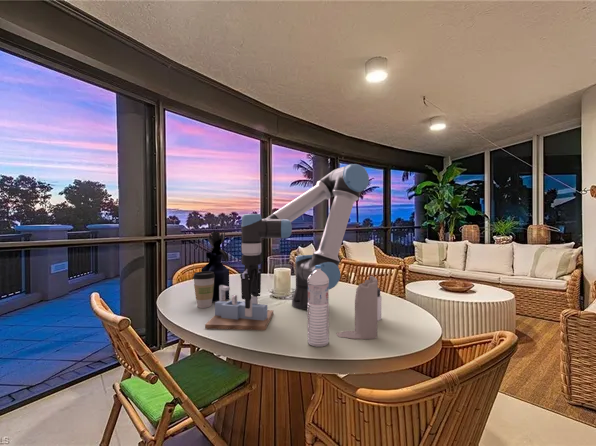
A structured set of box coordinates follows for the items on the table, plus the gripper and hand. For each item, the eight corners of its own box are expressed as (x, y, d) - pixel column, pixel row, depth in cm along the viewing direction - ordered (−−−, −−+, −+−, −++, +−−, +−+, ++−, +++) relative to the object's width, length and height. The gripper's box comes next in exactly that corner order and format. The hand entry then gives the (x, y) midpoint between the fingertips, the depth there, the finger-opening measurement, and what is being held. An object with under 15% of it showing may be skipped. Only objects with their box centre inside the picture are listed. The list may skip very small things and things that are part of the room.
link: (212, 316, 125) (212, 304, 125) (221, 311, 132) (221, 299, 132) (261, 322, 119) (261, 308, 119) (269, 316, 125) (269, 303, 125)
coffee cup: (209, 309, 140) (209, 275, 139) (188, 308, 142) (188, 274, 141) (219, 303, 149) (219, 271, 149) (199, 302, 151) (199, 270, 151)
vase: (234, 300, 155) (233, 227, 155) (210, 303, 149) (210, 228, 148) (223, 294, 167) (222, 227, 166) (201, 297, 161) (200, 227, 160)
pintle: (237, 318, 127) (237, 295, 127) (236, 320, 125) (236, 296, 125) (232, 318, 127) (232, 295, 127) (231, 320, 125) (231, 296, 125)
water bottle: (322, 349, 98) (322, 267, 97) (303, 344, 102) (303, 266, 101) (332, 341, 104) (332, 264, 103) (314, 337, 107) (313, 263, 107)
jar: (356, 320, 125) (357, 290, 124) (359, 314, 132) (359, 285, 132) (380, 323, 122) (380, 291, 122) (381, 316, 130) (381, 287, 129)
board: (273, 313, 134) (273, 310, 134) (265, 330, 115) (265, 325, 115) (221, 312, 135) (221, 309, 135) (205, 328, 116) (205, 324, 116)
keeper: (229, 315, 131) (229, 287, 131) (225, 316, 130) (225, 287, 129) (223, 312, 135) (223, 284, 135) (219, 313, 134) (219, 285, 134)
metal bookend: (335, 331, 114) (335, 274, 113) (374, 331, 113) (375, 275, 113) (337, 339, 106) (337, 278, 106) (379, 339, 106) (379, 279, 105)
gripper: (252, 251, 132) (252, 307, 133) (231, 256, 117) (231, 320, 117) (269, 252, 130) (269, 309, 130) (249, 257, 114) (249, 322, 115)
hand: (251, 314), depth 124 cm, fingers closed on link, 4 cm apart
